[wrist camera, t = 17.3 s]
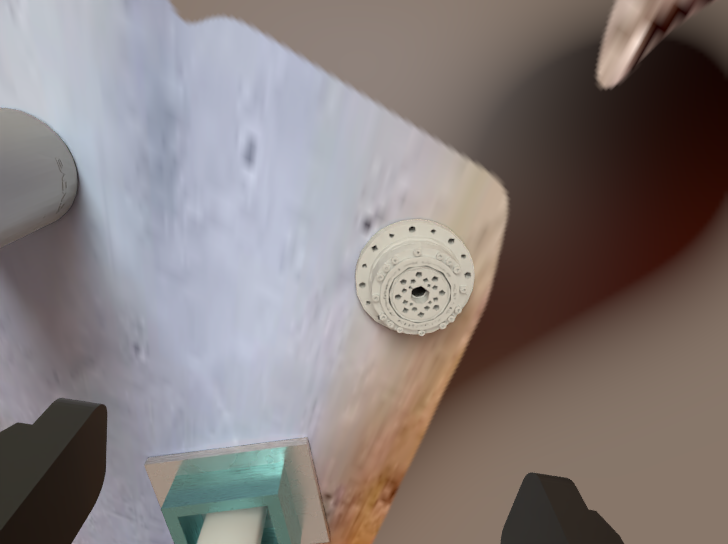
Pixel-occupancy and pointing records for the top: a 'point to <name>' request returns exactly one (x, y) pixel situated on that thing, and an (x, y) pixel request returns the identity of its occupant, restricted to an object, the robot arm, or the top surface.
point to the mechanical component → (414, 276)
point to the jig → (242, 489)
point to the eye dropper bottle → (234, 526)
